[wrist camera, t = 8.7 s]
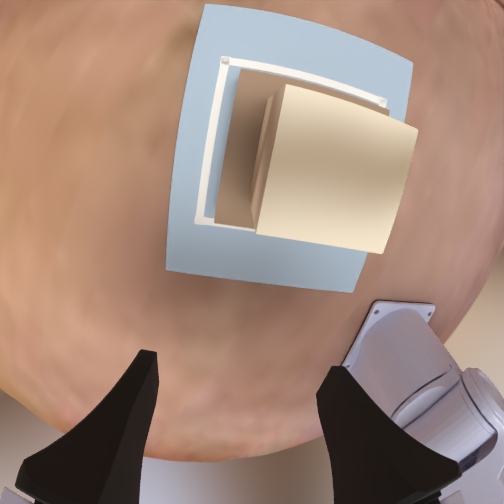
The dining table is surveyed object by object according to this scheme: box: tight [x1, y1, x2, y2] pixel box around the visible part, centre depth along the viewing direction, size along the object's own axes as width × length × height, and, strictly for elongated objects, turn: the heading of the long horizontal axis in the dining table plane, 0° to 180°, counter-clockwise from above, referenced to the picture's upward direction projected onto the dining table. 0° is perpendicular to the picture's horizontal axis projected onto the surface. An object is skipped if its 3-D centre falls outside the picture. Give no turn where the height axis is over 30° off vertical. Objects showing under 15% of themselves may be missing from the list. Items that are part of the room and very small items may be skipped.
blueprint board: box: [166, 4, 413, 293], centre depth 16 cm, size 18×14×1 cm
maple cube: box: [249, 84, 418, 254], centre depth 11 cm, size 5×5×5 cm
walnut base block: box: [214, 69, 390, 229], centre depth 15 cm, size 8×8×3 cm
